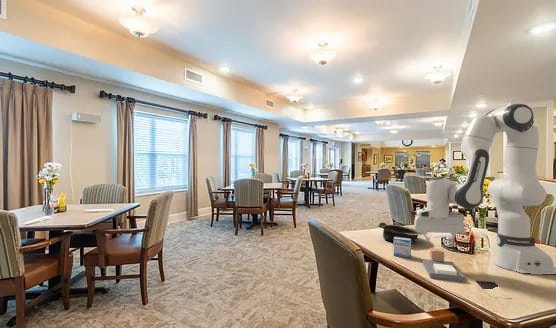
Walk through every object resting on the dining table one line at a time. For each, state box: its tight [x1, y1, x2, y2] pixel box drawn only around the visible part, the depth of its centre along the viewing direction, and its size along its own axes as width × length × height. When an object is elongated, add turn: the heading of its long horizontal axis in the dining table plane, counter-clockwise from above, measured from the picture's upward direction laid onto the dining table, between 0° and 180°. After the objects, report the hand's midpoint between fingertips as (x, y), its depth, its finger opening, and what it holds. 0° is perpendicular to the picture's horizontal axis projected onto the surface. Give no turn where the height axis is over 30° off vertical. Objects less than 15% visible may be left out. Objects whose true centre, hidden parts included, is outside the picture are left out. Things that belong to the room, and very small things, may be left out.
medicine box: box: [392, 237, 412, 259], centre depth 142 cm, size 8×4×9 cm, turn 62°
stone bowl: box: [377, 222, 424, 244], centre depth 169 cm, size 25×25×9 cm
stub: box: [429, 247, 445, 261], centre depth 131 cm, size 5×5×4 cm
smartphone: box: [475, 280, 499, 290], centre depth 105 cm, size 7×1×14 cm
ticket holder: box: [422, 258, 465, 282], centre depth 121 cm, size 12×17×4 cm
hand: (439, 241), depth 131 cm, fingers open, 8 cm apart
